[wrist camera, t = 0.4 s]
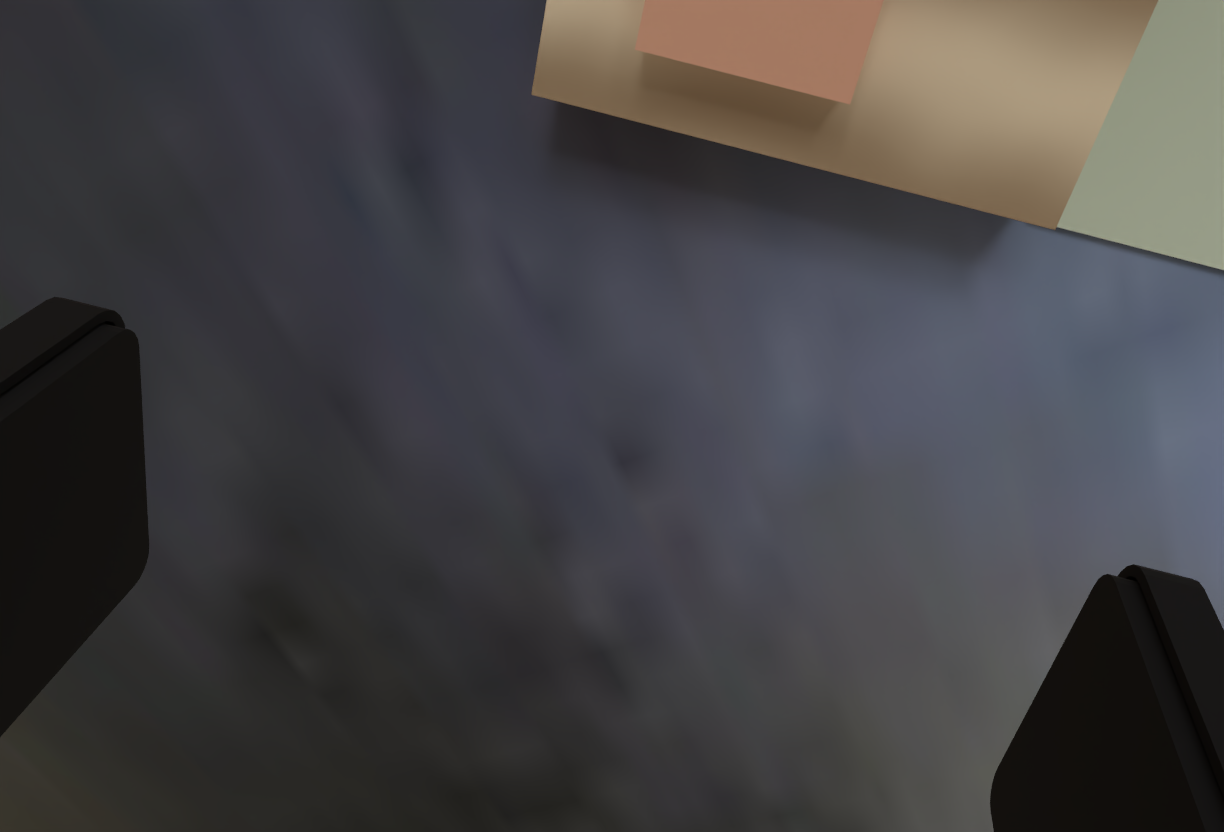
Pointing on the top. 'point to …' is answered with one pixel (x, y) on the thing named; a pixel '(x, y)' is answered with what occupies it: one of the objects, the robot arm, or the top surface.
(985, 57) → the deck
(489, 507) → the top surface
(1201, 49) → the mat
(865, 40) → the salmon brown flat block
